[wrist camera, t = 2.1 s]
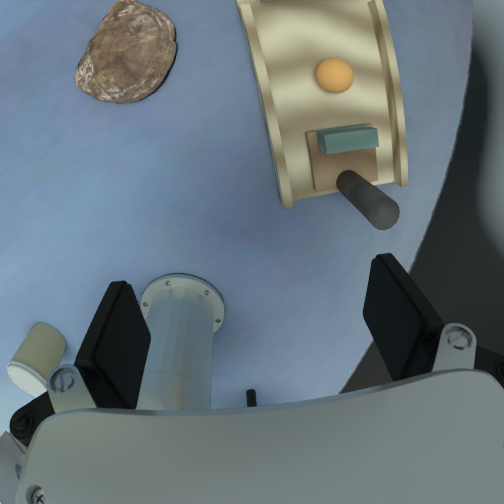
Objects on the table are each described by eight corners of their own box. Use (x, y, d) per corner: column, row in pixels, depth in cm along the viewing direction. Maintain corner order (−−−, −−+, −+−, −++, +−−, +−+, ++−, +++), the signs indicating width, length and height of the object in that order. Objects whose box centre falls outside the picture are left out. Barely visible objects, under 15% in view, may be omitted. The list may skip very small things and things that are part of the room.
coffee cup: (23, 326, 44) (-1, 370, 34) (45, 312, 43) (17, 361, 32) (54, 357, 49) (35, 401, 38) (78, 347, 47) (58, 396, 37)
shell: (202, 30, 25) (199, 23, 22) (141, 121, 30) (131, 124, 27) (123, -5, 21) (113, -13, 18) (69, 83, 26) (54, 83, 23)
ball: (348, 91, 28) (362, 92, 25) (315, 95, 29) (326, 95, 25) (342, 58, 26) (356, 55, 23) (308, 61, 27) (318, 57, 23)
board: (396, 178, 35) (428, 199, 28) (280, 200, 36) (293, 227, 29) (357, -36, 20) (385, -58, 13) (227, -31, 21) (226, -61, 14)
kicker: (375, 186, 34) (420, 221, 25) (315, 197, 34) (345, 238, 25) (369, 123, 30) (420, 139, 21) (305, 131, 30) (337, 149, 21)
